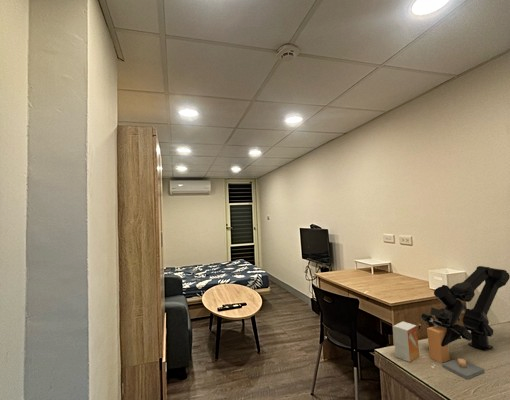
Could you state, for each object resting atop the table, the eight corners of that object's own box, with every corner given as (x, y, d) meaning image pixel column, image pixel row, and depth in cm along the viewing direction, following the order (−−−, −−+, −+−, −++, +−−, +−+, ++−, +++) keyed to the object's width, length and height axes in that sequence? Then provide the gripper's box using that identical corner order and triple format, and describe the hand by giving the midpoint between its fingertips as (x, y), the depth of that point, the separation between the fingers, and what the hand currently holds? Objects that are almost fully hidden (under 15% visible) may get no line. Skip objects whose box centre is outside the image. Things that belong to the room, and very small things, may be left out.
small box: (410, 362, 110) (407, 330, 110) (395, 356, 115) (392, 325, 116) (419, 356, 114) (417, 325, 115) (404, 350, 119) (402, 320, 120)
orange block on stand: (438, 354, 115) (435, 325, 115) (449, 360, 110) (446, 330, 111) (429, 357, 113) (426, 328, 114) (441, 363, 108) (438, 332, 109)
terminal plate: (459, 360, 109) (458, 351, 109) (484, 372, 101) (483, 362, 101) (442, 367, 105) (441, 357, 106) (467, 379, 97) (466, 368, 97)
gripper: (421, 294, 123) (405, 323, 119) (463, 307, 105) (446, 341, 101) (435, 309, 125) (420, 338, 121) (479, 323, 107) (463, 358, 103)
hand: (435, 343), depth 111 cm, fingers closed on orange block on stand, 5 cm apart
